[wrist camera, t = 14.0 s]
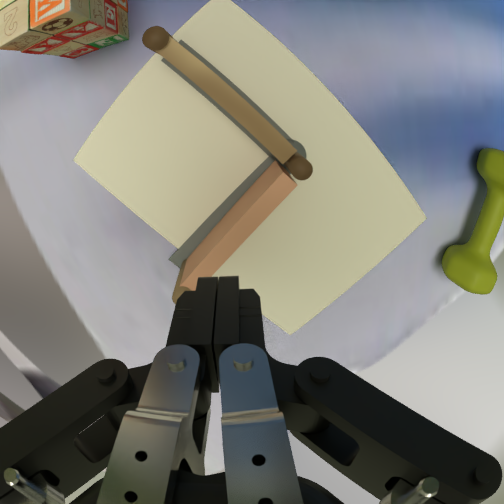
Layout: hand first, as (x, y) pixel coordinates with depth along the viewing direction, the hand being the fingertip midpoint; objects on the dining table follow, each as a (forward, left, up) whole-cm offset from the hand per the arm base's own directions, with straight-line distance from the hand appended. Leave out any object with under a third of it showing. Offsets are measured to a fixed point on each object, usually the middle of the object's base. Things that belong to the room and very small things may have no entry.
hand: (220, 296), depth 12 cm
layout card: (-2, +2, -19) cm, 19 cm away
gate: (+3, +3, -18) cm, 19 cm away
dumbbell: (-18, +22, -19) cm, 35 cm away
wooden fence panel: (-5, -5, -19) cm, 20 cm away
